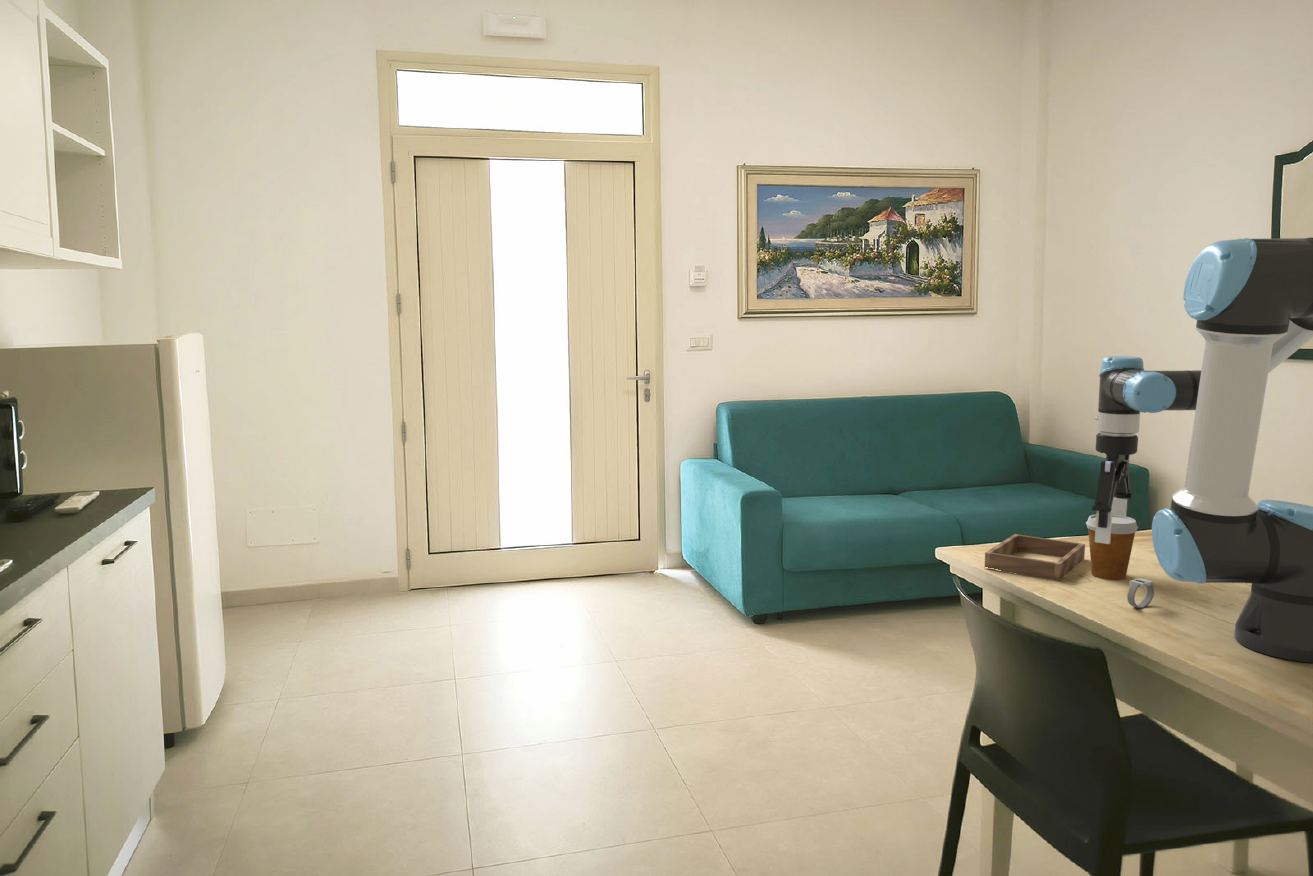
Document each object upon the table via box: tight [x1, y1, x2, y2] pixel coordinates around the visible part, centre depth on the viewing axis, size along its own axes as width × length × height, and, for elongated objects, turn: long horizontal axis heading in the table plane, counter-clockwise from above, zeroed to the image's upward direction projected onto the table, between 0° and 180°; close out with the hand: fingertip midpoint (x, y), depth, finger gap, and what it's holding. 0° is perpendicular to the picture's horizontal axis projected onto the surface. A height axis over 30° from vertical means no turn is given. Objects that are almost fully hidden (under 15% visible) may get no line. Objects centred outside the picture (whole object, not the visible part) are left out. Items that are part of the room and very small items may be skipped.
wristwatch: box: [1126, 577, 1155, 609], centre depth 162 cm, size 6×3×5 cm, turn 119°
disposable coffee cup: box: [1085, 514, 1139, 581], centre depth 181 cm, size 10×10×12 cm
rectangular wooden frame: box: [984, 533, 1086, 582], centre depth 191 cm, size 20×15×4 cm
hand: (1110, 535), depth 181 cm, fingers open, 13 cm apart
